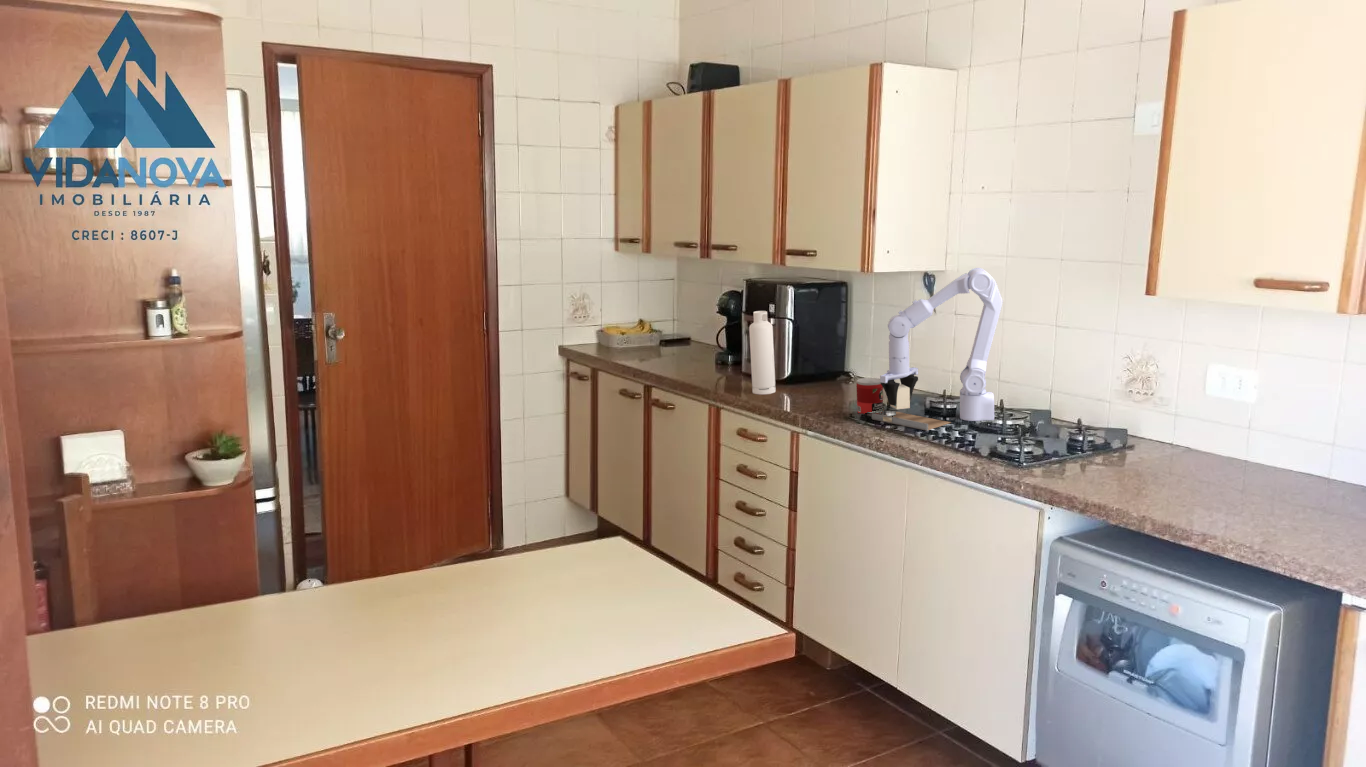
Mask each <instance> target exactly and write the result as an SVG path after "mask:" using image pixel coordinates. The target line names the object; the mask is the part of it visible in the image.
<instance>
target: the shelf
mask: <svg viewBox="0 0 1366 767" xmlns="http://www.w3.org/2000/svg"><path fill="white" fill-rule="evenodd" d="M895 412H896V415H895V416H893V417H892V416H887V414H882V413H872V414H871V419H872V420H874V421H880V422H884V423H888V424H894V425H899V426H902V427H908V428H912V429H917V430H921V431H922V430H923V431H926V432H928V431H930V430H933V429H936V428H939V427H942V426H945V425H946V426H947V425H949V424H952V422H951V421H946V420H942V419H941V420H940V419H936V418H932V417H931V418H930V417H926V416H921V415H914V414H911V413H905V412H900V411H895Z"/></svg>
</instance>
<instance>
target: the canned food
mask: <svg viewBox="0 0 1366 767" xmlns="http://www.w3.org/2000/svg"><path fill="white" fill-rule="evenodd" d="M855 386H856V410H857V411H856V413H857V412H858V413H860V414H859V415H861V414H863V415H864V414H865V413H867V412H872V411H876V410H879V409H882V408H883V409H884V388H883V387H882V385H881V382H880V377H879V378H877V377H863V378H858V379H857V380H856V385H855ZM865 415H866V414H865Z"/></svg>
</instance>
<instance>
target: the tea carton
mask: <svg viewBox="0 0 1366 767" xmlns="http://www.w3.org/2000/svg"><path fill="white" fill-rule="evenodd" d="M910 402H911V400H910V388H909V387H907V386H905V385H903V384H901V383H900V385H899V387H898V391H897V403H896V405H889V406H890V407H891V408H894V409H895V410H903V409H910V408H911V404H910Z"/></svg>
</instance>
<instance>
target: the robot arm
mask: <svg viewBox="0 0 1366 767" xmlns="http://www.w3.org/2000/svg"><path fill="white" fill-rule="evenodd" d="M969 290H971V291H972V292H973V293H974V294H975V295H976V296H978V297H979V299H980V300H981V302H982V303H983V307H982V310H981V314H980V318H979V322H978V326H977V330H976V332H975V337H974V341H973V345H972V347H971V351H970V354H969V355H970V356H969V358H968V360H967V362H966V365H965V367H964V368H963V369H962V370H961V372H960V375H959V377H960V378H959V380H960V382H961V384H962V388H961V389H960V390H959V418H960V419H961V420H962V421H963V420H964V421H969V422H972V421H973V422H978V421H979V422H980V421H994V420H995V394H994V393H993V392H992V391H987V389H986V387H987V381H986V372H987V364H988V363H987V362H988V360H989V355H990V351H991V348H992V343H993V340H994V336H995V333H996V330H997V329H996V328H997V327H998V326H997V325H998V322H999V318H1000V314H1001V311H1002V306H1003V303H1004V302H1003V301H1004V300H1003V298H1002V295H1001V292H1000V290H999V287H998V284H997V281H996V280H995V279H994V278H993V276H992V275H991V274H990V273H988V272H987V271H986V270H985V269H984V268H981V267H975V268H972V269H971V270H969V271H968V272H965V273H964V274H961V275H959V276H958V277H956V278H955V279H954V280H952V281H951V282H949V283H947V284H946V285H945V286H943V287H942V289H940V290H938V291H937V292H936V293H935V294H933V295H932V296H931V297H929V298H928V299H924V298H920V299H918V300H917V299H914V300H913V301H912V304H911V305H909V306H908V307H906V308H905V309H904V310H899V311H898V314H895V315H892V316H891V317H890V319H889V321H888V324H887V328H888V331H889V335H888V365H889V366H888V367H889V368H888V370H886V373H884V374H882V375H880V376H879V379H880V382H881V385H882V387H883V391H884V393H885V394H886V398H887V401H888V404H889V406H890V405H896V403H897V391H898V387H899V385H901V384H903V385H905V386H907V387H909V388H910V401H911V400H912V396H913V392H914V389H915V386H916V384H917V382H918V381H919V376H917V375H919V367H914V366H913V367H910V341H909V332H910V330H911V329H913V328H916V327H917V326H919V325H920V324H921V323H923V322H925V321H926V320H927V319H929V318H930V317H932V316H933V314H934V309H936V308H938V307H939V306H941V305H942V304H944V303H945V302H947V301H950V300H951V299H953V297H955V296H957V295H960V294H961V295H962V294H963V295H964V294H970V291H969ZM896 380H899V381H900V383H899V382H897V381H896Z"/></svg>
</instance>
